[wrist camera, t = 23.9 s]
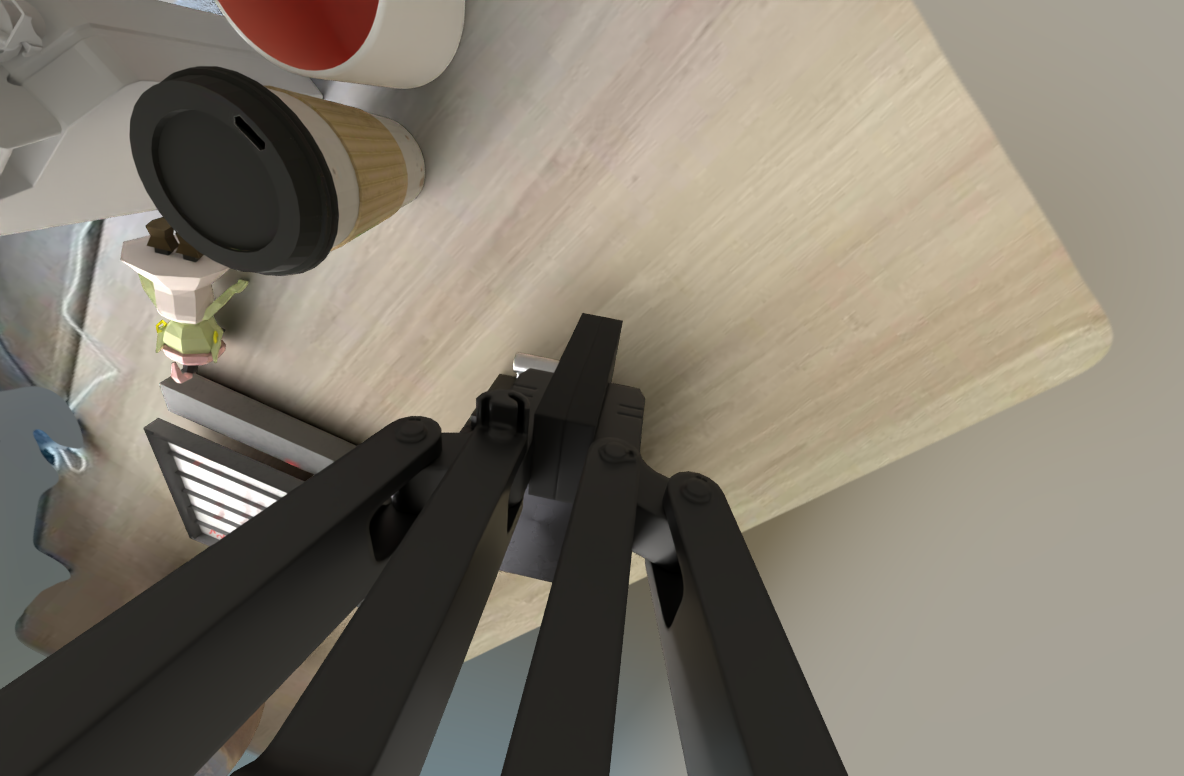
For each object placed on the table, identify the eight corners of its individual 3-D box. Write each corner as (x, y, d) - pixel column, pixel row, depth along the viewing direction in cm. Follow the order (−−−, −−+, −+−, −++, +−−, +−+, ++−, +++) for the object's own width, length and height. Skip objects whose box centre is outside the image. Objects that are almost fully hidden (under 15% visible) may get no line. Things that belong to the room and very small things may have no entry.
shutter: (417, 578, 72) (454, 476, 52) (396, 622, 67) (428, 528, 47) (219, 507, 68) (178, 366, 48) (180, 547, 63) (114, 408, 43)
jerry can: (292, -5, 29) (-688, -336, 8) (348, 71, 31) (-340, -41, 10) (189, 139, 35) (-526, 163, 14) (240, 196, 37) (-328, 291, 16)
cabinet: (496, 378, 43) (459, 432, 35) (635, 406, 42) (627, 467, 34) (494, 499, 52) (463, 562, 44) (608, 524, 51) (597, 593, 43)
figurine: (132, 195, 37) (163, 336, 46) (69, 230, 32) (118, 382, 40) (254, 228, 40) (262, 354, 49) (216, 265, 35) (232, 399, 43)
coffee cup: (303, 150, 34) (87, 165, 22) (374, 51, 30) (158, -2, 18) (397, 253, 38) (257, 318, 25) (473, 176, 33) (351, 208, 21)
